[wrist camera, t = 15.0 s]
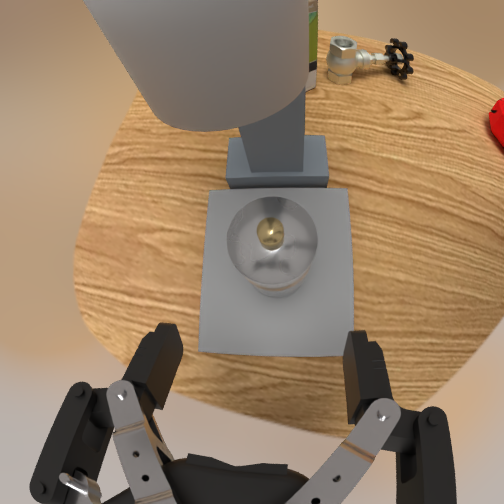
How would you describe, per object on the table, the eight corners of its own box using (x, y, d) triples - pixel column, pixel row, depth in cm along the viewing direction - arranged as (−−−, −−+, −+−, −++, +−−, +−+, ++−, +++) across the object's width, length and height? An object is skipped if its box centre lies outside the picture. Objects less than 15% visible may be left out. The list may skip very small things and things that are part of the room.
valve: (335, 93, 32) (407, 88, 31) (339, 57, 26) (419, 56, 25) (317, 65, 34) (386, 61, 33) (318, 31, 28) (394, 30, 27)
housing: (284, 230, 27) (282, 168, 15) (317, 276, 25) (341, 242, 14) (238, 262, 26) (202, 219, 15) (269, 309, 25) (255, 301, 14)
